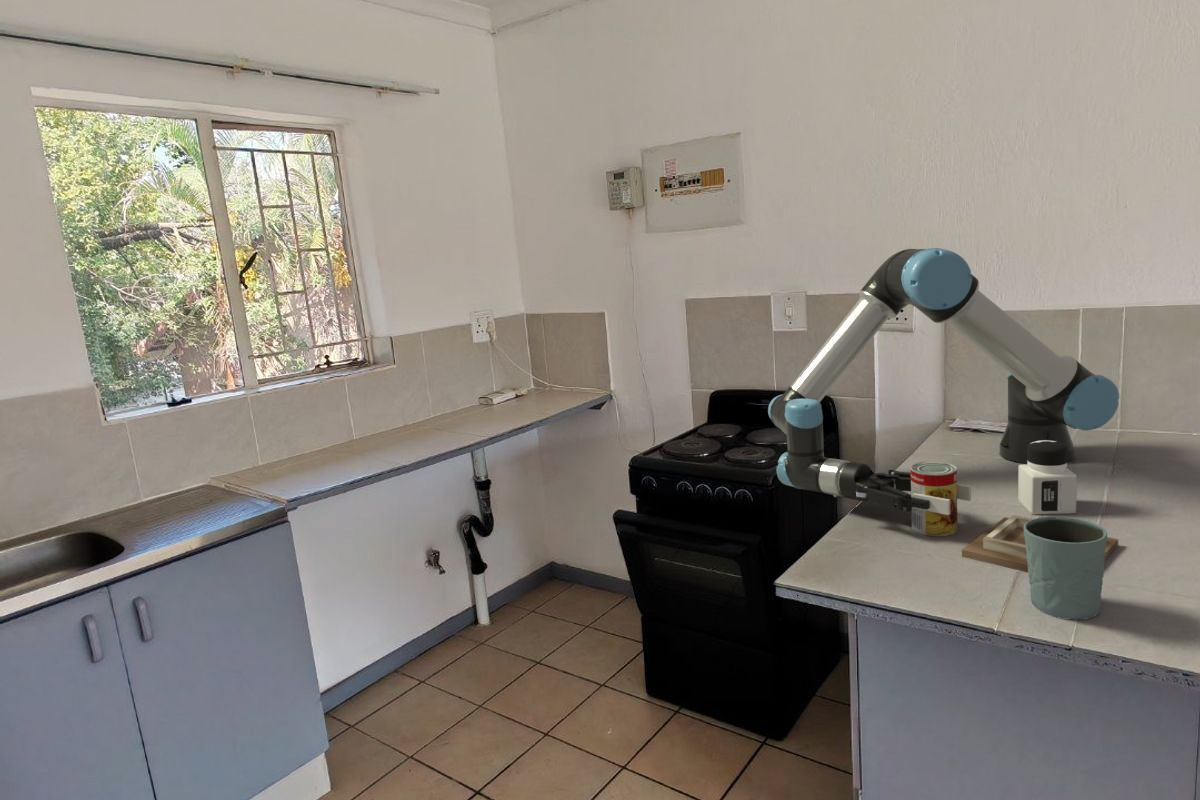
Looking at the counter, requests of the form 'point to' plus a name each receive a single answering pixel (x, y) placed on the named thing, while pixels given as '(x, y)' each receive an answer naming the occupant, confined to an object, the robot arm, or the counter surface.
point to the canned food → (936, 483)
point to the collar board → (1009, 544)
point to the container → (1047, 480)
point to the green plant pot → (1065, 565)
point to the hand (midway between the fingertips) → (959, 500)
